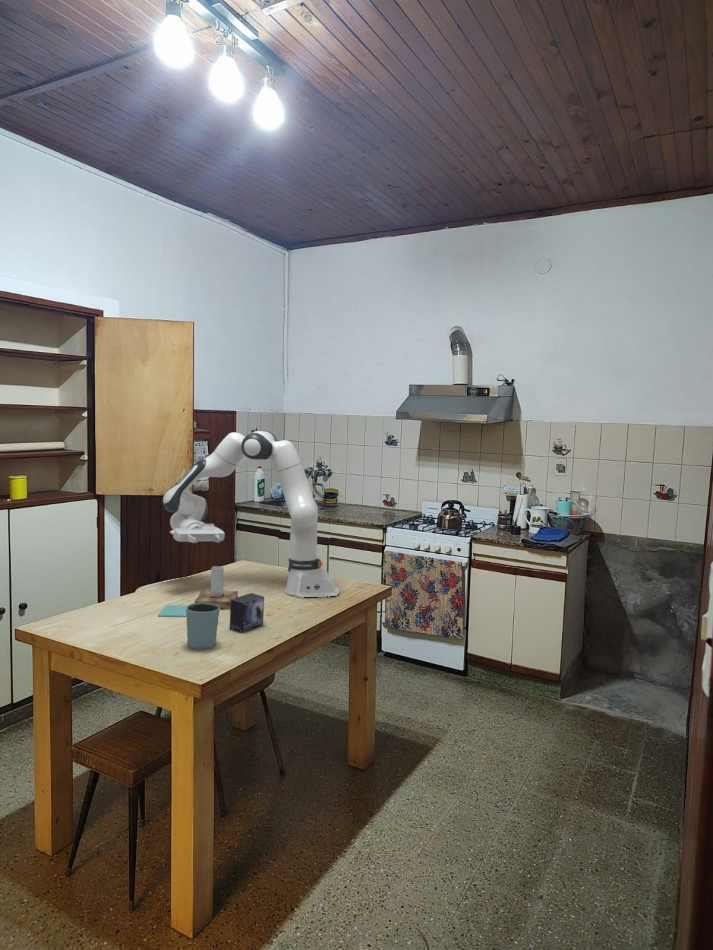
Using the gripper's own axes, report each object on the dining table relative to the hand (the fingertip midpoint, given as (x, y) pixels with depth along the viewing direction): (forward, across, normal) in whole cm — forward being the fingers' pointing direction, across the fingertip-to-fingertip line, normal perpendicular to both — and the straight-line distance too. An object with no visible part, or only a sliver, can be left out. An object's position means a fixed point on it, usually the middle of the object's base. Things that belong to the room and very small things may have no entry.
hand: (207, 540), depth 238 cm
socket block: (+12, +1, +21) cm, 25 cm away
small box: (+42, -2, +18) cm, 46 cm away
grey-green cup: (+48, -21, +19) cm, 56 cm away
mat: (+14, -14, +22) cm, 30 cm away
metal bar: (+12, +1, +21) cm, 25 cm away
